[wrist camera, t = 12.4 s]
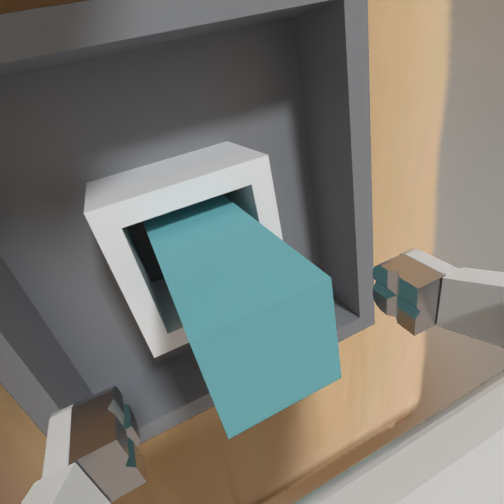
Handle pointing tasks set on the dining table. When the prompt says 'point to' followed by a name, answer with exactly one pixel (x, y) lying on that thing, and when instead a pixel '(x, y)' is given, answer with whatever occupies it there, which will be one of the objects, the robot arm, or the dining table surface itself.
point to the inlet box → (167, 179)
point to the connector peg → (247, 310)
